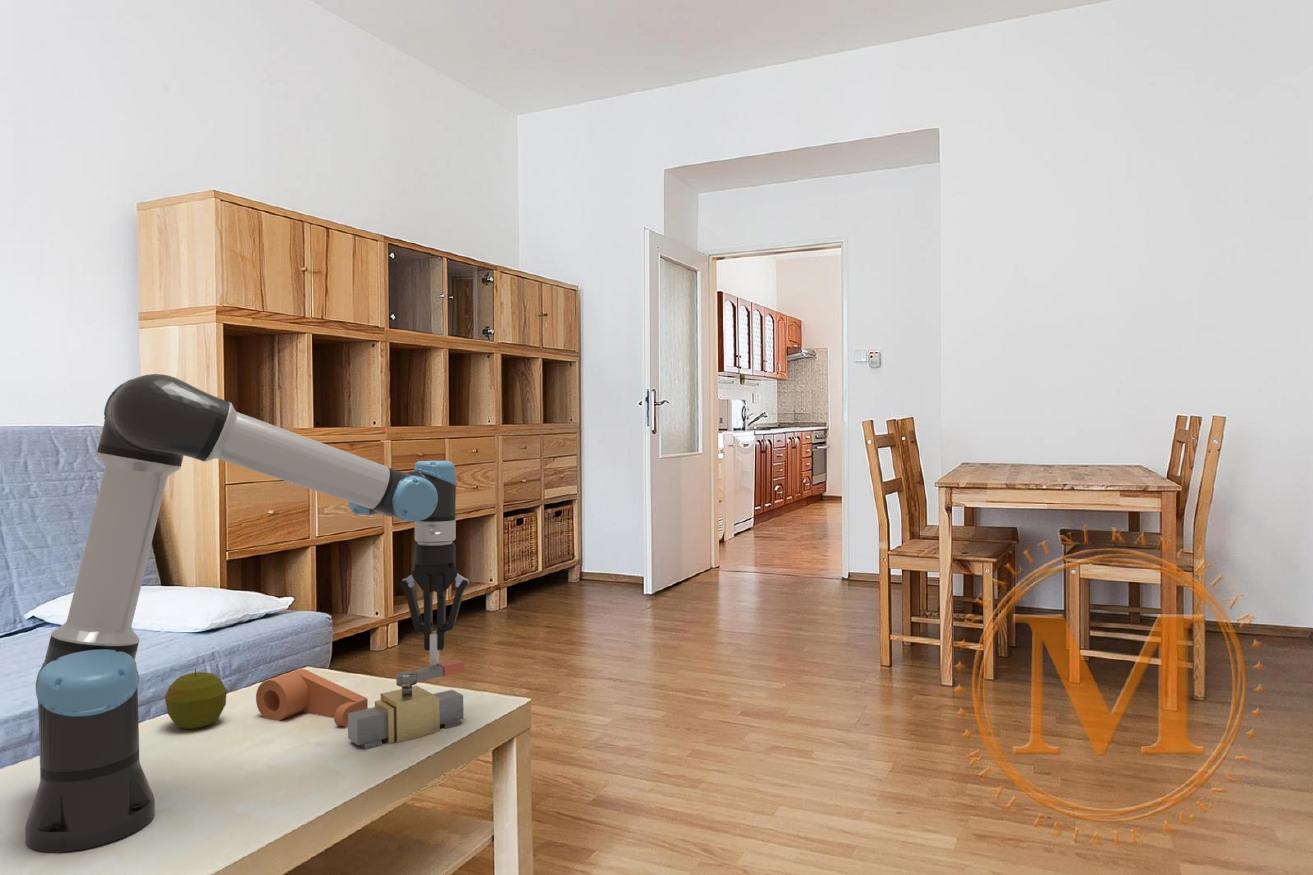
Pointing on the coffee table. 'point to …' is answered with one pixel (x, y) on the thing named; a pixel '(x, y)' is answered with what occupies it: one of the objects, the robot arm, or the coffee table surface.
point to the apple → (195, 700)
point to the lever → (429, 672)
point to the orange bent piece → (307, 697)
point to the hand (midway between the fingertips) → (434, 666)
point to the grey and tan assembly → (405, 716)
